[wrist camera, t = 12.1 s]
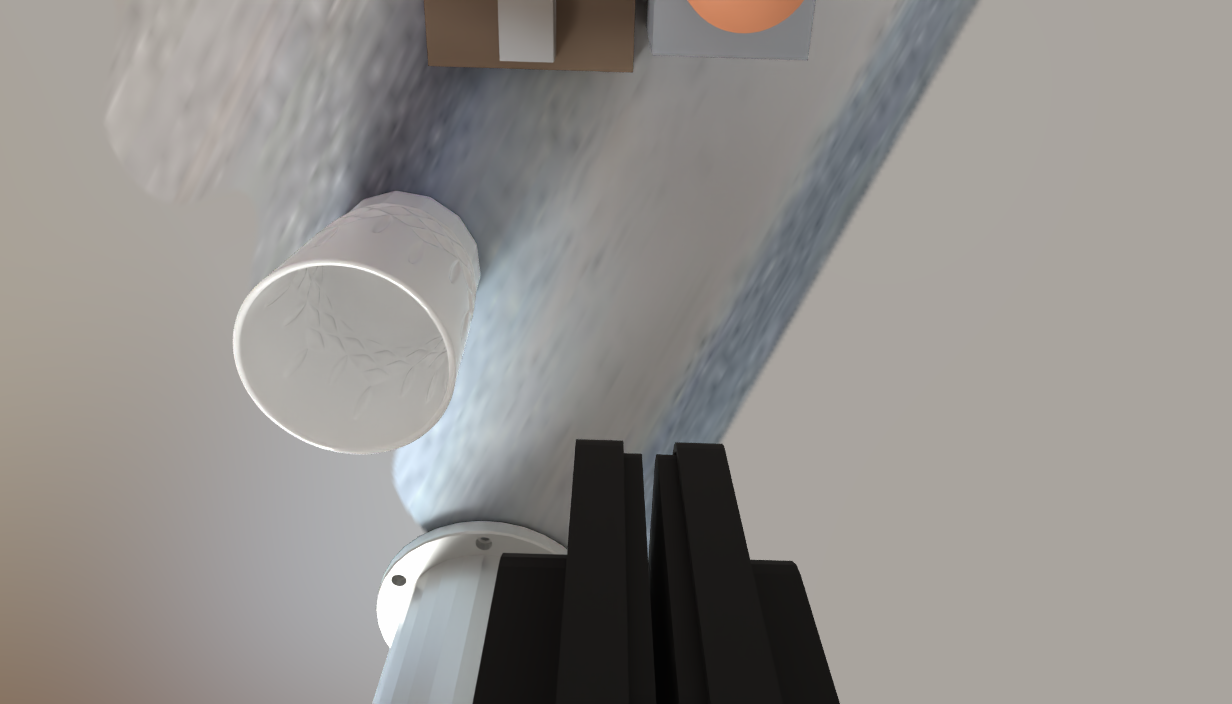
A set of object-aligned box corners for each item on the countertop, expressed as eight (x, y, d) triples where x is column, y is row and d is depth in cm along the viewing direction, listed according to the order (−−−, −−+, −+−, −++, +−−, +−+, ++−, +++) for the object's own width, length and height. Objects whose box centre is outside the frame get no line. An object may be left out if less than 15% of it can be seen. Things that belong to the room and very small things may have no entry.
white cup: (459, 156, 37) (407, 234, 28) (516, 316, 40) (485, 429, 31) (293, 202, 38) (191, 290, 29) (362, 353, 41) (290, 474, 32)
